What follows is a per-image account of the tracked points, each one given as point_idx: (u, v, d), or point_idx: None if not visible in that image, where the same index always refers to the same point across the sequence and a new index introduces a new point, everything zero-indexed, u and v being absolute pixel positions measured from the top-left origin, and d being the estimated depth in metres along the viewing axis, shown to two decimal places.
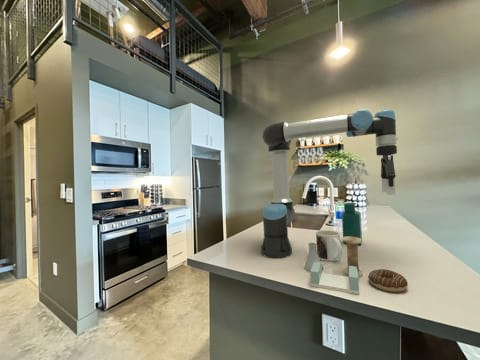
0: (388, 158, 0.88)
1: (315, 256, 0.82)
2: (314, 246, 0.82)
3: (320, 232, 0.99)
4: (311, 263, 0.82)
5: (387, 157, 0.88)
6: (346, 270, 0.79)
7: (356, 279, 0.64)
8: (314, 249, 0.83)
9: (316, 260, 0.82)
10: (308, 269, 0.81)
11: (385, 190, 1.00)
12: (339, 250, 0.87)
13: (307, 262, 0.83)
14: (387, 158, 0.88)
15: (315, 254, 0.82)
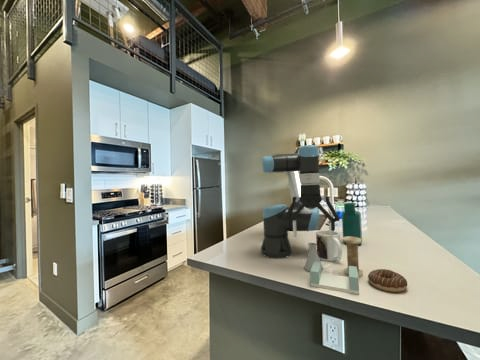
0: None
1: (315, 256, 0.82)
2: (314, 246, 0.82)
3: (320, 232, 0.99)
4: (311, 263, 0.82)
5: None
6: (346, 270, 0.79)
7: (356, 279, 0.64)
8: (314, 249, 0.83)
9: (316, 260, 0.82)
10: (308, 269, 0.81)
11: None
12: (339, 250, 0.87)
13: (307, 262, 0.83)
14: None
15: (315, 254, 0.82)
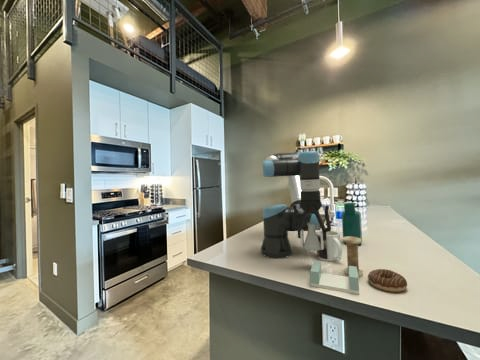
0: None
1: (314, 235, 0.83)
2: (313, 226, 0.83)
3: (320, 232, 0.99)
4: (310, 242, 0.82)
5: None
6: (346, 270, 0.79)
7: (356, 279, 0.64)
8: (313, 229, 0.83)
9: (315, 239, 0.82)
10: (307, 248, 0.82)
11: None
12: (339, 250, 0.87)
13: (306, 241, 0.84)
14: None
15: (314, 233, 0.83)
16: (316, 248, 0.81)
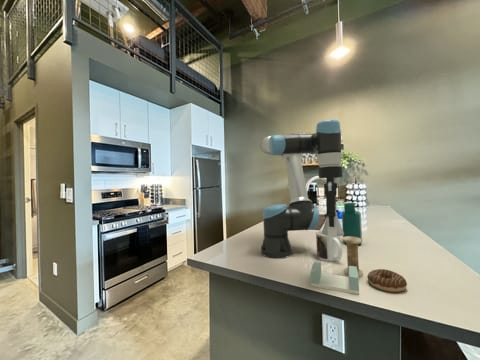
0: (328, 189, 0.66)
1: None
2: None
3: (320, 232, 0.99)
4: (340, 226, 0.70)
5: (327, 187, 0.66)
6: (346, 270, 0.79)
7: (356, 279, 0.64)
8: None
9: None
10: (343, 233, 0.69)
11: None
12: (339, 250, 0.87)
13: (337, 227, 0.69)
14: (327, 189, 0.66)
15: None
16: None
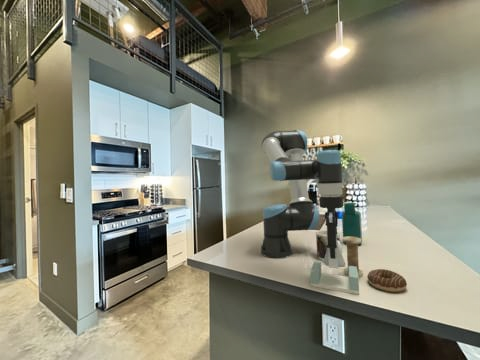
0: (329, 220, 0.66)
1: None
2: None
3: (320, 232, 0.99)
4: (341, 256, 0.70)
5: (328, 219, 0.66)
6: (346, 270, 0.79)
7: (356, 279, 0.64)
8: None
9: None
10: (344, 264, 0.69)
11: None
12: None
13: (338, 258, 0.69)
14: (328, 220, 0.66)
15: None
16: None
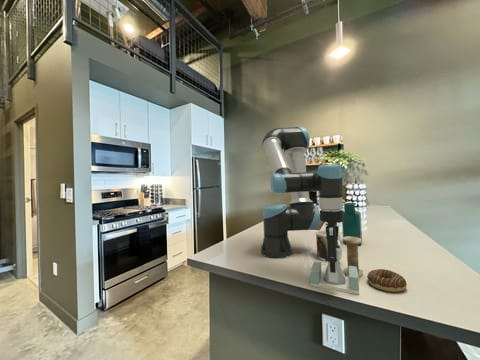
0: (329, 233, 0.66)
1: None
2: None
3: (320, 232, 0.99)
4: (342, 272, 0.70)
5: (328, 231, 0.66)
6: (346, 270, 0.79)
7: (356, 279, 0.64)
8: None
9: None
10: (344, 281, 0.69)
11: None
12: (339, 250, 0.87)
13: (339, 274, 0.69)
14: (328, 233, 0.66)
15: None
16: None
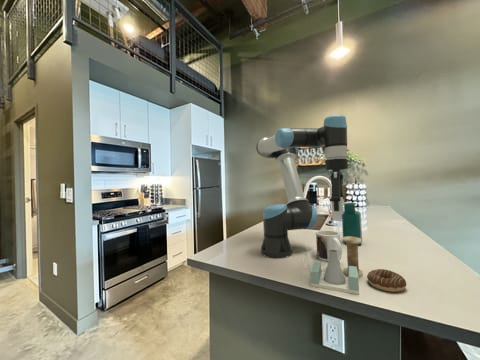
0: (334, 175, 0.71)
1: None
2: None
3: (320, 232, 0.99)
4: (342, 272, 0.70)
5: (333, 174, 0.71)
6: (346, 270, 0.79)
7: (356, 279, 0.64)
8: None
9: None
10: (344, 281, 0.69)
11: None
12: (339, 250, 0.87)
13: (339, 274, 0.69)
14: (333, 175, 0.71)
15: None
16: None
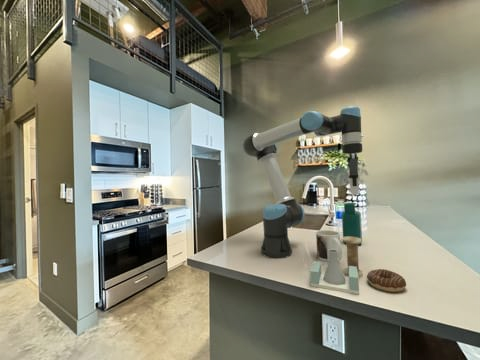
0: (352, 156, 0.84)
1: None
2: None
3: (320, 232, 0.99)
4: (342, 272, 0.70)
5: (351, 155, 0.84)
6: (346, 270, 0.79)
7: (356, 279, 0.64)
8: None
9: None
10: (344, 281, 0.69)
11: None
12: (339, 250, 0.87)
13: (339, 274, 0.69)
14: (351, 156, 0.84)
15: None
16: None
